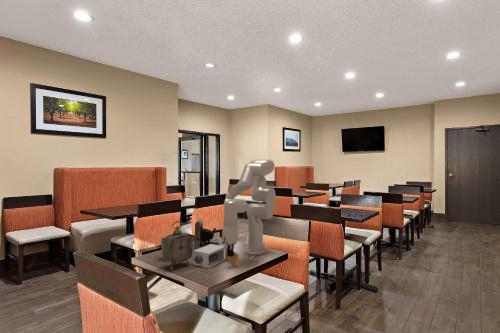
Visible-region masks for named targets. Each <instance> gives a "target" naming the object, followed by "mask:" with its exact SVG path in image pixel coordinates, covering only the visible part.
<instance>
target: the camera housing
mask: <svg viewBox="0 0 500 333" xmlns="http://www.w3.org/2000/svg"><path fill="white" fill-rule="evenodd" d="M225 248H226V247H224V245H220V244H219V245H213V244H210V245H207V246H204V247H201V248H199V249H196V250H194V249H193V250H192V255H193V256H192V257H193V258H192V261H193V266H196V267H202V268H206V269H210V268H212V267H214V266H217V265H218V264H220V263H222V262H225V261H226V260H225Z"/></svg>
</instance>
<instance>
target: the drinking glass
mask: <svg viewBox="0 0 500 333" xmlns="http://www.w3.org/2000/svg"><path fill="white" fill-rule="evenodd" d="M163 240H164V237H161V239H160V246H161V257H162V258H161V259H162V260H163V261H167V260H165V259H164V255H163ZM167 262H168V261H167Z"/></svg>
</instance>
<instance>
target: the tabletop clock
mask: <svg viewBox="0 0 500 333" xmlns="http://www.w3.org/2000/svg"><path fill="white" fill-rule="evenodd" d="M176 223H181V226H176V227H174V225H175V224H176ZM183 225H184V224H183V222H182V221H180V220H177V221H176V220H175V221H174V222H173V223H172V224H171V227H172V229H174V230H173V232H172V233H170V234H168V235H166V236H165V237H163V238H164V240H163V255H164V259H165V260H164V261H166V260H167V262H171V266H170V270H171V271H172V270H174V266H177V264H178V263H183V262H186V265H187V266H188V265H190V261H188V260H189V259H191V258H192V257H193V256H192V255H193V251H194V244H193V243H194V242H193V237H192V235H191V234H188V233H184V232H183V231H182V230H181V229H182V227H183Z"/></svg>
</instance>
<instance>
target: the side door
mask: <svg viewBox="0 0 500 333" xmlns="http://www.w3.org/2000/svg"><path fill="white" fill-rule="evenodd" d="M224 258H225V261H227V262H228V263H230V264H231V265H234V266H236V267H238V268H239V267H240V254H239V253H237V252H235V251H234V253H233V256H232V257H229V256H227V248H225V249H224Z"/></svg>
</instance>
